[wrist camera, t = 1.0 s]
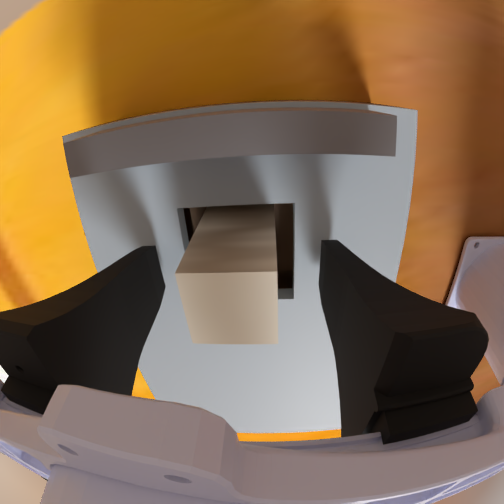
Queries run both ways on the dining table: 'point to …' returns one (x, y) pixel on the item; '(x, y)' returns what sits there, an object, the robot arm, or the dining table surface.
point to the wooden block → (231, 276)
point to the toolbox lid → (245, 193)
